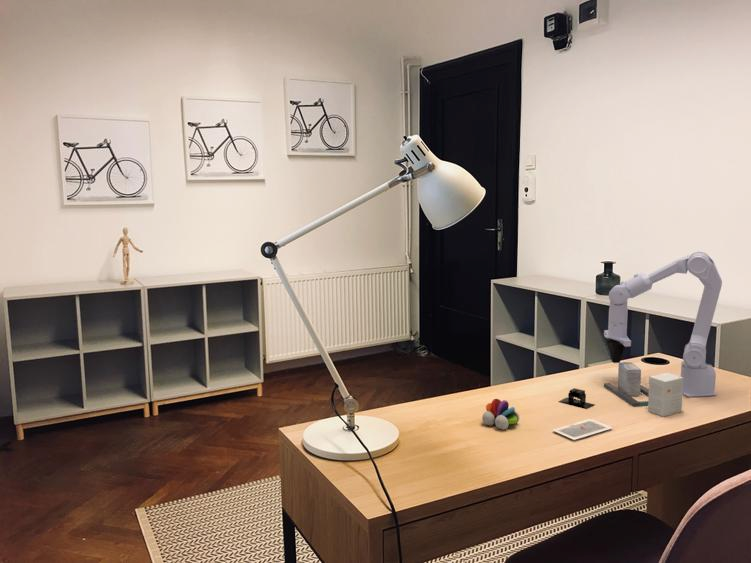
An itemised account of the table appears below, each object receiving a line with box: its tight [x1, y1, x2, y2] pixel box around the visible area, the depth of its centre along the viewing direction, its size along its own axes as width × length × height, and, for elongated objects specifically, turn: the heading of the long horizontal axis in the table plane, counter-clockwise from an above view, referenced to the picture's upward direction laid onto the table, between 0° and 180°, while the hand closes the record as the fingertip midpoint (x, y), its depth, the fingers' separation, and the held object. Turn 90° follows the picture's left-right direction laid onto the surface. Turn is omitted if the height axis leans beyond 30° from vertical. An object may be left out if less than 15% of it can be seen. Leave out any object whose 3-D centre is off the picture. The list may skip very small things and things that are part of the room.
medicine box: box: [617, 361, 642, 397], centre depth 204 cm, size 8×4×9 cm, turn 179°
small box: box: [647, 372, 684, 418], centre depth 187 cm, size 8×6×10 cm
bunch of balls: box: [481, 398, 520, 431], centre depth 180 cm, size 8×10×7 cm
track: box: [603, 382, 649, 408], centre depth 202 cm, size 11×19×1 cm, turn 6°
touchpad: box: [552, 418, 614, 441], centre depth 174 cm, size 8×15×2 cm, turn 120°
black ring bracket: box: [558, 387, 596, 410], centre depth 195 cm, size 12×7×5 cm, turn 45°
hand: (615, 362), depth 213 cm, fingers closed
